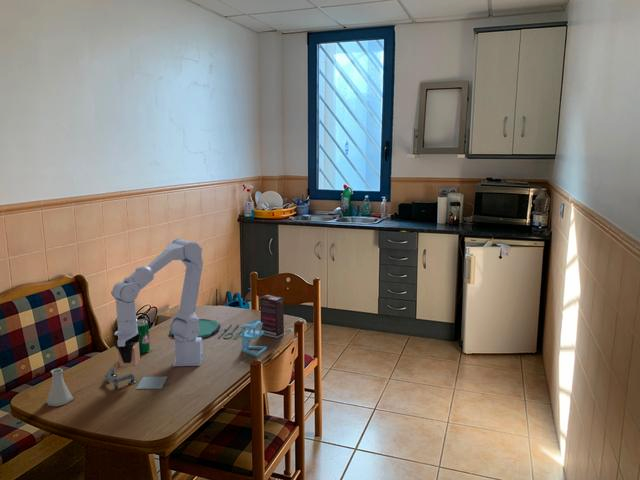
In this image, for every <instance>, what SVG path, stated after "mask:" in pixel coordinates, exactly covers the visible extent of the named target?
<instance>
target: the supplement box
mask: <svg viewBox="0 0 640 480" xmlns="http://www.w3.org/2000/svg"><path fill="white" fill-rule="evenodd" d="M259 298H260V299H259V300H260V301H259V302H260V303H259V305H260V322H262V323H263V324H262V328H261V330H262V331H263V332H264V334H263V335H262V336H267V337H271V338H275V339H279V338H281V337H283V336H284V335H285V331H284V330H285V329H284V327H285V323H284V320H285V319H284V314H285V313H284V297H281V296H275V295H270V294H265V295H262V296H260V297H259Z"/></svg>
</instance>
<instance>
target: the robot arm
mask: <svg viewBox="0 0 640 480" xmlns="http://www.w3.org/2000/svg"><path fill="white" fill-rule="evenodd" d="M202 253H203V248H202V247H201V246H200V244H199V243H197V242H196V241H191V240H186V239H183V238H175V239H174V240H172V242H170V243H168V244H167V245H166V248H165V249H164V250H163V251H162V252H161V253H160V254H159V255H157V257H156V258H154V259H153V260H152V261H151V262H150V263H149V264H148V265H147V266H145V265H141V266H137V267H136V268H135V271H134V272H132V273H131V274H129V275H128V276H127V277H124V279H123V280H121V281H118V282H116V283H115V284H114V286H113V288H112V290H111V291H110V293H111V296H112V297H113V298H114V300H115V309H116V320H117V321H116V322H117V330H115V332H114V336H117V338H118V339H117V341H116V342H115V343H114V346H115V348H116V349H117V350H118V353H119V352H120V354H121V357H122V360H123V362H124V363H130V362H131V358H132V349H133V345H134V343H135V342H138V341H139V338H140V335H141V333H140V332H138V325H137V321H136V320H137V311H136V310H137V309H136V299H137V298H138V295H139V293H140V292H141V290H142V289H144V288H145V287H146V286H148V284H149V283H151V282H152V281H153V280H154V278H155V274H156V273H157V272H159V271H160V270H162V269H163V268H165V267H166V266H167V265H168V264H170V263H171V262H173V261H181V262H182V263H183V264H184V265H185V266H186V267H185V274H184V277H183V278H184V279H183V286H182V289H181V290H182V291H181V297H180V303H179V309H178V311H176V312H175V313H174V314H173V319H172V320H171V323H170V325H169V331H171V332H172V333H173V338H174V347H175V349H174V350H175V359H174V361H173V364H172V367H190V366H192V367H193V366H194V367H195V366H196V367H197V366H199V367H200V366H202V365H201V364H202V361H203V359H204V344H203V343H204V342H203V338H200V337H197V336H198V334H199V331H200V329H199V319H200V318H199V317H198V316H197V313H196V310H197V309H196V308H197V302H198V296H199V291H200V284H201V278H202V272H203V267H204V261H203V257H202V256H203V255H202Z"/></svg>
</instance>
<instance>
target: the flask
mask: <svg viewBox="0 0 640 480" xmlns="http://www.w3.org/2000/svg"><path fill="white" fill-rule="evenodd" d="M63 372H64V369H63V368H59V367H58V368H54V369H51V370H50V373H51V375H52V377H51V385H50V389H49V392H48V395H47V397H46V404H47V405H48V407H56V408H57V407H60V406H63V405H67V404H69V403H70V402H72V401H73V400H74V397H73V395H72V394H71V392H70V390H69V388H68V386H67V384H66V382H65V379H64V377H63Z"/></svg>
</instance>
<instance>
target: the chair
mask: <svg viewBox="0 0 640 480" xmlns="http://www.w3.org/2000/svg"><path fill="white" fill-rule="evenodd" d="M247 322H248V323H247V324H244V325H240V328H241V330H242V332H241V333H240V334H241V335H240V337H239V338H241V350H240V351H241V352H243V353H246V354H247V355H250V356H252V357H253V356H254V357H256V358H257V357H259V356H260V355H261V354H263V353H264V352H265V351H266V350H267V348H268V347H267V346H263V345H250V344H251V341H252V340H254V341H256V340H257V339H259V337H261V336H264V335H263V334H264V332H263V331H262V330H261V328H262V324H263V323H262V322H261V320H259V319H258V320H257V319H253V320H250V321H247ZM243 328H245V329H246V328H247V330H246V331H245V329H243ZM257 328H259V330H257ZM252 350H259V351H258V352H254V351H252Z"/></svg>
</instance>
